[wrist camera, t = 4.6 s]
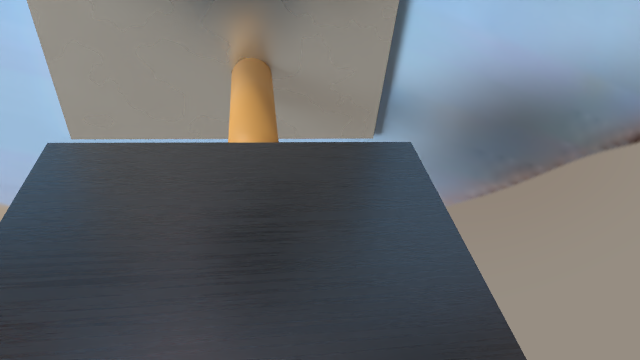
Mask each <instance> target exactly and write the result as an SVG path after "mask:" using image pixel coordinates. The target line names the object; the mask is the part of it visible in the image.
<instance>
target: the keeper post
mask: <svg viewBox="0 0 640 360" xmlns="http://www.w3.org/2000/svg"><path fill="white" fill-rule="evenodd" d="M256 142H278V132H277V122H276V112H275V102H274V92H273V82H272V73H271V70H270V68H269V67H268V65H267V64H266V63H265V62H263V61H262V60H259V59H256V58H246V59H243V60H241V61H239V62H238V63H237V64H236V65H235V66H234V68H233V70H232V77H231V97H230V117H229V137H228V143H256Z"/></svg>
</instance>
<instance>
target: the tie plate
mask: <svg viewBox="0 0 640 360" xmlns="http://www.w3.org/2000/svg"><path fill="white" fill-rule="evenodd" d="M27 3H28V6H29V9H30V12H31V15H32V18H33V21H34V24H35V28H36V31H37V34H38V37H39V40H40V43H41V46H42V49H43V52H44V56H45V59H46V62H47V65H48V68H49V71H50V74H51V77H52V80H53V84H54V87H55V90H56V93H57V96H58V99H59V102H60V105H61V108H62V112H63V115H64V118H65V121H66V124H67V127H68V130H69V133H70V136H71V139H228V137H229V117H230V97H231V77H232V70H233V68H234V66H235V65H236V64H237V63H238V62H239V61H241V60H243V59H246V58H256V59H259V60H262V61H263V62H265V63H266V64H267V65H268V67H269V68H270V70H271V73H272V82H273V92H274V102H275V112H276V122H277V132H278V139H321V138H373V136H374V130H375V125H376V120H377V115H378V109H379V104H380V99H381V94H382V88H383V83H384V78H385V73H386V67H387V62H388V57H389V52H390V46H391V41H392V36H393V31H394V25H395V20H396V15H397V10H398V4H399V0H27Z"/></svg>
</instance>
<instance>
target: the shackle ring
mask: <svg viewBox="0 0 640 360" xmlns="http://www.w3.org/2000/svg"><path fill="white" fill-rule="evenodd" d="M0 360H527V359H526V358H525V356H524V354H523V352H522V350H521V348H520V346H519V344H518V343H517V341H516V339H515V337H514V335H513V333H512V331H511V329H510V328H509V326H508V324H507V322H506V320H505V318H504V316H503V314H502V312H501V311H500V309H499V307H498V305H497V303H496V301H495V299H494V298H493V296H492V294H491V292H490V290H489V288H488V286H487V284H486V283H485V281H484V279H483V277H482V275H481V273H480V271H479V269H478V267H477V266H476V264H475V262H474V260H473V258H472V256H471V254H470V252H469V251H468V249H467V247H466V245H465V243H464V241H463V239H462V238H461V236H460V234H459V232H458V230H457V228H456V226H455V224H454V222H453V220H452V219H451V217H450V215H449V213H448V211H447V209H446V207H445V205H444V204H443V202H442V200H441V198H440V196H439V194H438V192H437V190H436V189H435V187H434V185H433V183H432V181H431V179H430V177H429V175H428V174H427V172H426V170H425V168H424V166H423V164H422V162H421V160H420V159H419V157H418V155H417V153H416V151H415V149H414V147H413V145H412V144H411V142H256V143H47V145H46V147H45V148H44V150H43V152H42V153H41V155H40V157H39V158H38V160H37V162H36V163H35V165H34V167H33V168H32V170H31V172H30V173H29V175H28V177H27V178H26V180H25V182H24V183H23V185H22V187H21V188H20V190H19V192H18V193H17V195H16V197H15V198H14V200H13V202H12V203H11V205H10V207H9V208H8V210H7V212H6V214H5V215H4V217H3V219H2V220H1V222H0Z"/></svg>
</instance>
